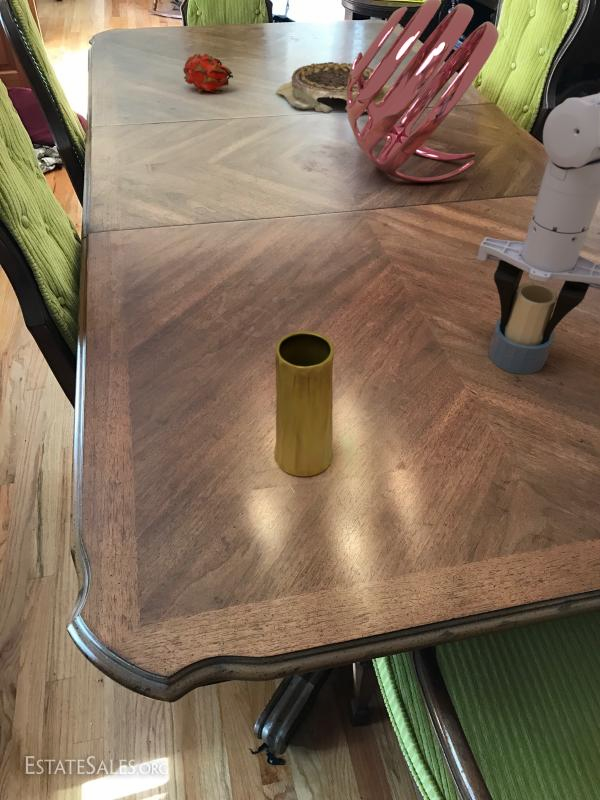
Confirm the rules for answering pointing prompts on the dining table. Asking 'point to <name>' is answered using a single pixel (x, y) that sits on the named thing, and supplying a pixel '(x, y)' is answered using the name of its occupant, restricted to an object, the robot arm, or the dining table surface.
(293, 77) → the pie
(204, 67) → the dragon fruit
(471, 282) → the dining table surface
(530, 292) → the cup
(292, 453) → the vase
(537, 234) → the robot arm
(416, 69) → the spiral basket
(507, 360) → the bowl
